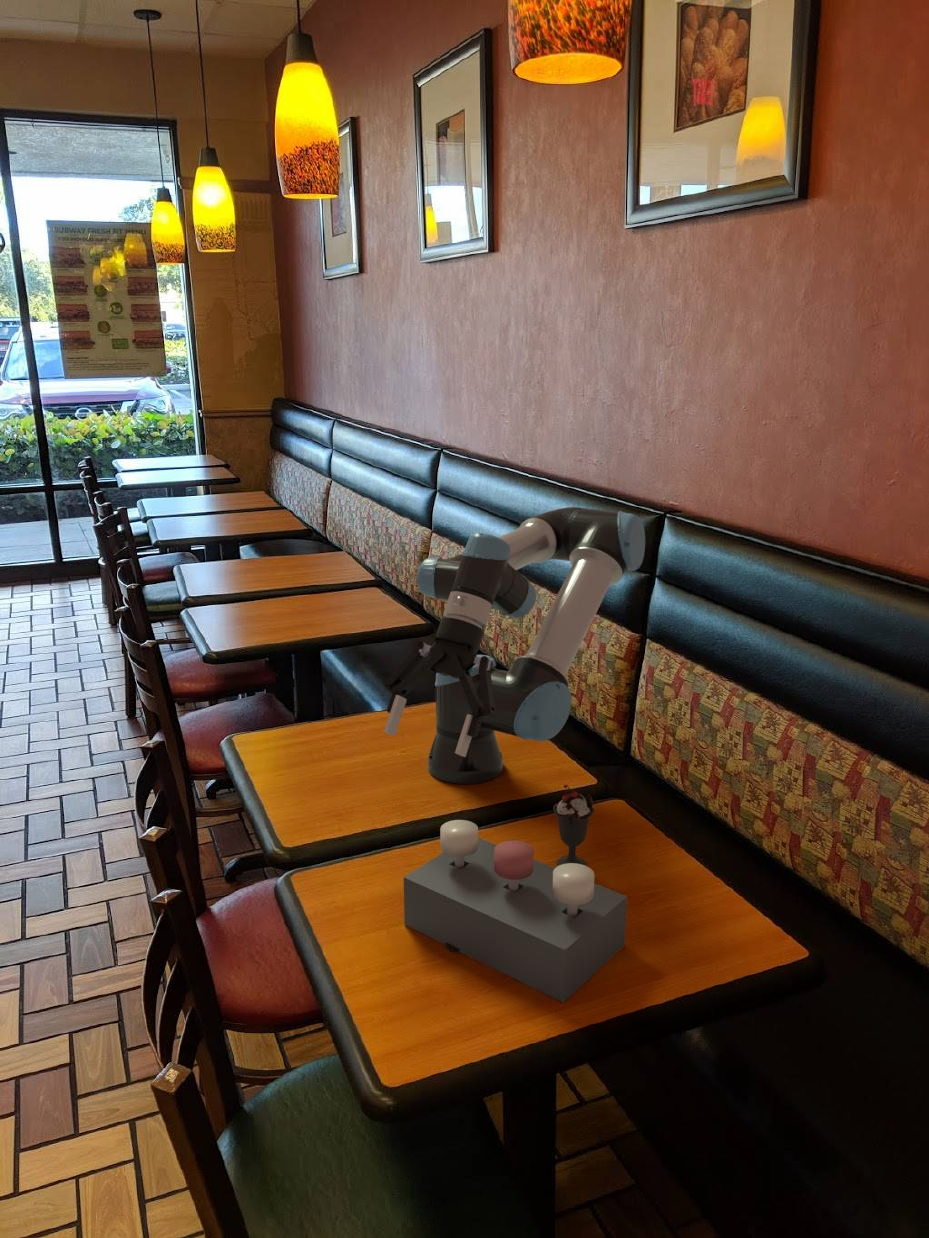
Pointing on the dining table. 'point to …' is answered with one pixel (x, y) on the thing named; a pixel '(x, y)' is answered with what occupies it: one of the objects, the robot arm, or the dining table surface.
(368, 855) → the dining table surface
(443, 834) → the cream knob
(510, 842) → the pink knob
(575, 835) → the sundae
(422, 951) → the dining table surface
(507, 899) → the control box
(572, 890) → the cream knob
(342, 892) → the dining table surface
